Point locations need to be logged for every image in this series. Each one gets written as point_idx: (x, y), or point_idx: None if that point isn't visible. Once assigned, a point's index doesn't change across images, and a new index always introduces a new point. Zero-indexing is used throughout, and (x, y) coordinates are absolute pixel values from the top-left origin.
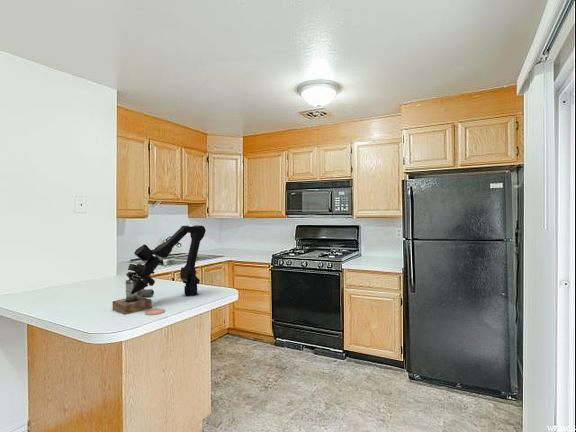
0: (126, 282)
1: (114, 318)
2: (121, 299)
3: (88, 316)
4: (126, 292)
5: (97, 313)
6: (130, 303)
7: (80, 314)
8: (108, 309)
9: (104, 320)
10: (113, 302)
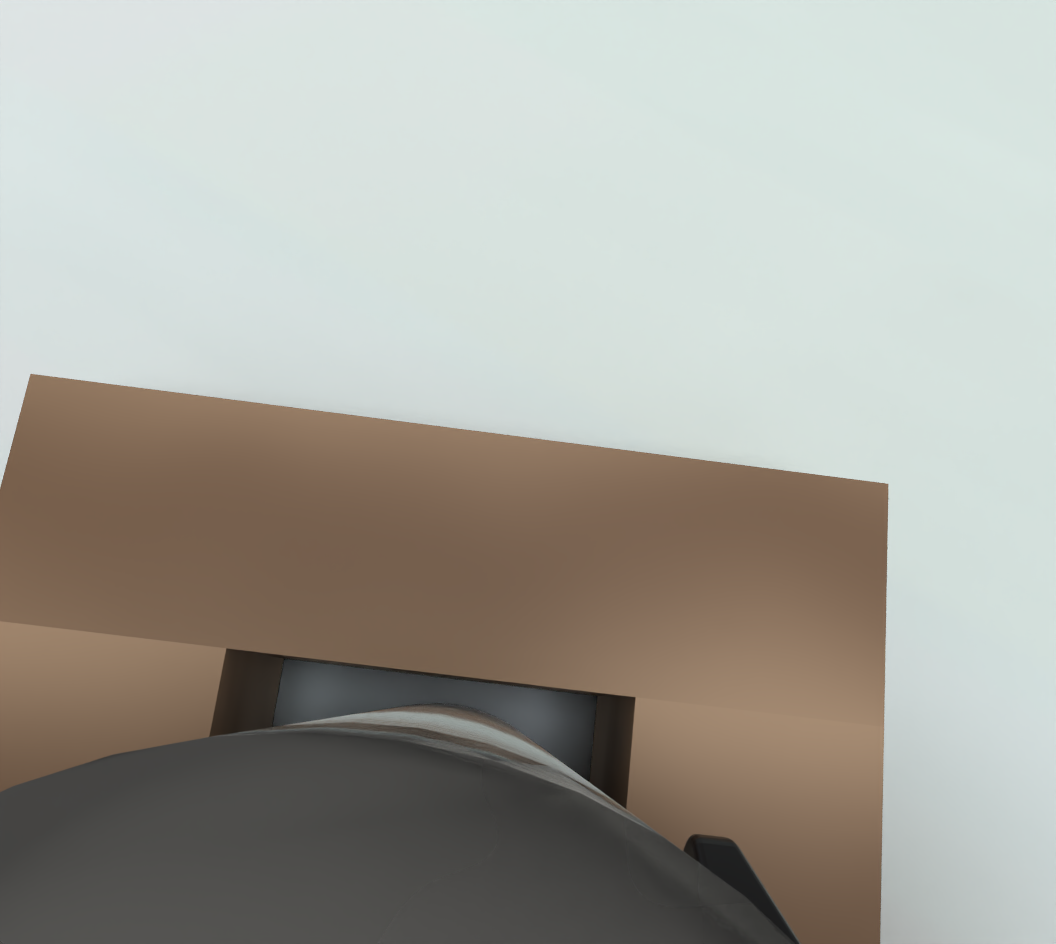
0: (315, 726)
1: (96, 165)
2: (877, 780)
3: (734, 21)
4: (438, 712)
5: (790, 205)
6: (91, 610)
7: (1014, 25)
8: (901, 492)
9: (174, 11)
10: (808, 481)
